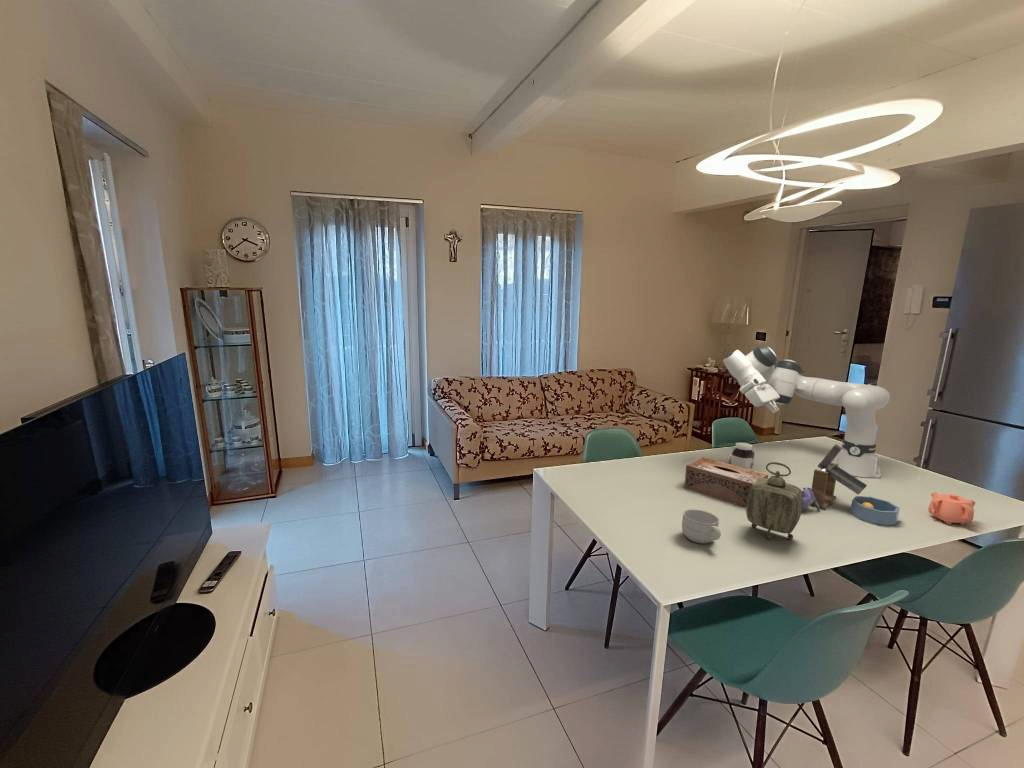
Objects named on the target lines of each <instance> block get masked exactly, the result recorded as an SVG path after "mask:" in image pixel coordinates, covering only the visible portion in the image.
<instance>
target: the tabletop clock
mask: <svg viewBox="0 0 1024 768" xmlns="http://www.w3.org/2000/svg"><path fill="white" fill-rule="evenodd" d="M771 465H777V466H782V467H784V468H786V469H787V470H788V473H785V474H784V473H783V474H782V473H780V471H779V470H776V471H775V472H774V471H771V470H770V469H769V468H768V467H769V466H771ZM765 469H766V471H767V472H769V473H770V474H771V476H770V477H768V478H759V479H758V480H757V481H756V482H755V483H754V484H753V485H752V486H751V488H750V490H749V492H748V497H747V501H746V507H745V512H746V518H747V521H748V522H750V523H751V527H752V528H755V529H756V528H758V527H759V528H763V529H765V530H767V533H766V534H765V539H767V540H770V539H771V538H772V536H771V531H772V532H777V533H781V534H787V538H788V539H789V540H793V538H794V535H793V534H792V533H793V531H794V530H795V528H796V526H797V524H798V523H799V521H800V519H801V515H802V511H803V510H802V505H803V496H802V491H803V490H802V489H801V488H800V487H798V486H797V485H794V484H792V483H789V482H786V480H785V479H784V478H783V477H788V476H790V474H792V471H791V468H790V466H788V465H786V464H784V463H781V462H777V461H771V462H769V463H767V464H766V465H765ZM769 473H768V474H769Z"/></svg>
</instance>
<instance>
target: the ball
mask: <svg viewBox="0 0 1024 768" xmlns="http://www.w3.org/2000/svg"><path fill="white" fill-rule="evenodd" d="M861 505H863V506H865V507H869V508H872V509H874V507H873V505H872V504H870V503H867V502H865V503H862V504H861Z"/></svg>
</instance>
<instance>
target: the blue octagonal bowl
mask: <svg viewBox="0 0 1024 768" xmlns="http://www.w3.org/2000/svg"><path fill="white" fill-rule="evenodd" d="M865 502H867V503H870V504H872V505H873V507H874V509H872V508H869V507H865V506H863V505H861V504H862V503H865ZM850 505H851V506H850V513H851V514H852V515H853V516H854V517H855V518H857V519H859V520H861V521H862V522H863V521H864V522H866V523H869V524H871V525H879V526H885V527H892V526H895V525H897V522H898V520H899V514H900V509H901V508H900V507H899V506H897V505H896V504H894V503H892V502H890V501H888V500H885V499H881V498H877V497H874V496H865V495H864V496H862V495H861V496H860V495H856V496H855V497H853V499H851V504H850Z"/></svg>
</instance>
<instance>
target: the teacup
mask: <svg viewBox="0 0 1024 768" xmlns="http://www.w3.org/2000/svg"><path fill="white" fill-rule="evenodd" d="M719 523H720V518H719V517H718V516H717V515H715V514H714V513H712V512H709V511H706V510H702V509H696V508H695V509H694V508H689V509H685V510H684V511H682V521H681V530H682V533H683V534H684V535H685V536H686V537H687V539H688V540H689V541H691V542H693V543H697V544H708V543H711V542H713V541H716V540H719V539H720V538H721V533H722V532H721V529H720V528H719Z"/></svg>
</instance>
